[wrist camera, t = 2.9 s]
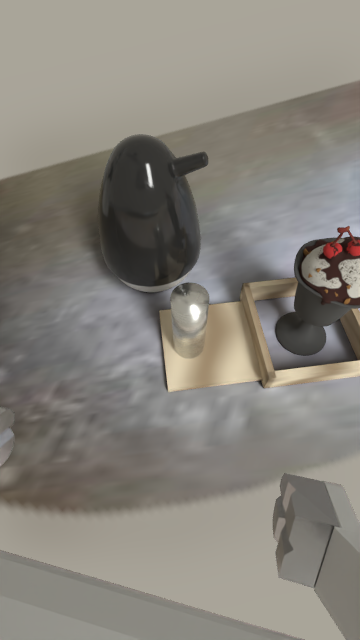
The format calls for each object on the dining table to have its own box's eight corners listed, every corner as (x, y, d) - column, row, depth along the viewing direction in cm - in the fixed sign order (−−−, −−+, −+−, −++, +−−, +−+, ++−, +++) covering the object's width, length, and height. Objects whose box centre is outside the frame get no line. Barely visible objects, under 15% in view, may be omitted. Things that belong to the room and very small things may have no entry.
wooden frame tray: (169, 400, 30) (164, 362, 23) (158, 306, 36) (152, 252, 28) (370, 374, 31) (425, 330, 24) (331, 287, 37) (367, 229, 29)
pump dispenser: (197, 311, 35) (204, 188, 22) (100, 303, 36) (53, 179, 23) (204, 240, 41) (213, 106, 28) (119, 234, 41) (89, 101, 28)
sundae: (254, 341, 33) (298, 228, 21) (285, 296, 36) (340, 171, 23) (317, 377, 31) (409, 277, 18) (344, 326, 34) (440, 208, 21)
